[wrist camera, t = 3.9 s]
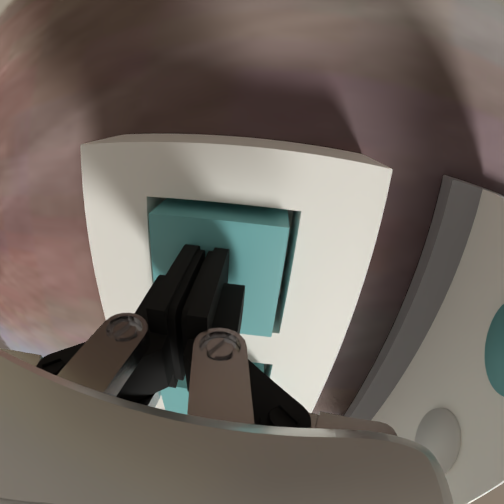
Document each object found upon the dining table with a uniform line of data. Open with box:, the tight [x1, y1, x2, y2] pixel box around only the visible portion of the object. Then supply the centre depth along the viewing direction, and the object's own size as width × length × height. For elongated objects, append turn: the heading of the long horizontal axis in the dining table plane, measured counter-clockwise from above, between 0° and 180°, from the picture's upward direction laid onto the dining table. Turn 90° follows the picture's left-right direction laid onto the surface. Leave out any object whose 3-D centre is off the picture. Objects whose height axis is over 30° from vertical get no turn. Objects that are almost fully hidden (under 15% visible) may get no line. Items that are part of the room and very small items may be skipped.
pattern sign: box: [344, 175, 504, 504], centre depth 13 cm, size 6×26×13 cm, turn 175°
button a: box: [149, 198, 290, 337], centre depth 12 cm, size 5×5×3 cm
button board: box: [81, 134, 393, 413], centre depth 17 cm, size 12×26×4 cm, turn 175°
